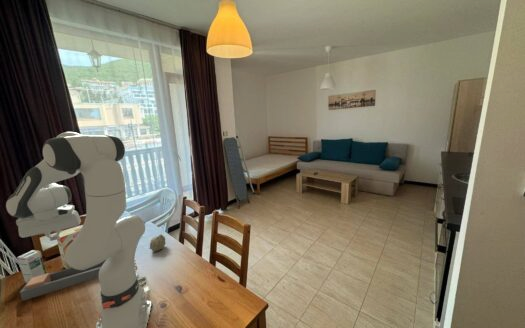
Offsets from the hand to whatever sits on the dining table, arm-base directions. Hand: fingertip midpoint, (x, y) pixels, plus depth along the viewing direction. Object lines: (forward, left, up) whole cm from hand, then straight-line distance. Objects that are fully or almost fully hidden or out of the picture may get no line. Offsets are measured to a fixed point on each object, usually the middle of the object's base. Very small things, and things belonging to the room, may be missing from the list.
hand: (55, 239), depth 96 cm
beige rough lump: (+5, -41, -24) cm, 48 cm away
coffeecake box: (+17, -3, -24) cm, 29 cm away
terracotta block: (0, +9, -22) cm, 24 cm away
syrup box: (+11, +14, -23) cm, 29 cm away
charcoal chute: (0, -3, -23) cm, 23 cm away
